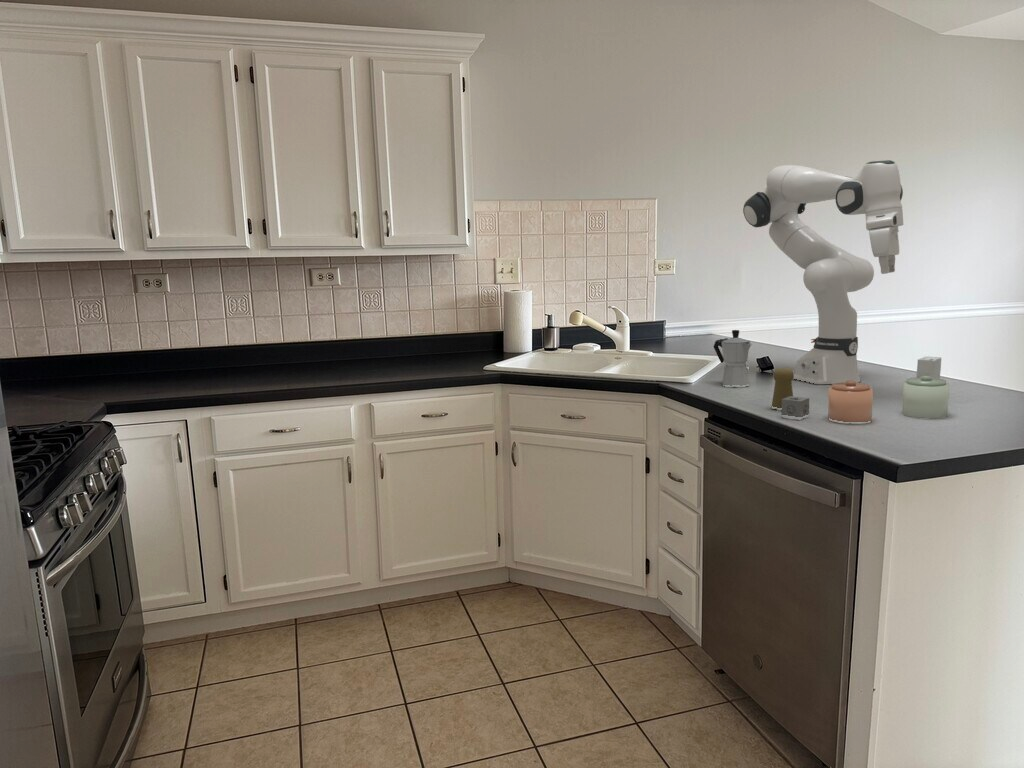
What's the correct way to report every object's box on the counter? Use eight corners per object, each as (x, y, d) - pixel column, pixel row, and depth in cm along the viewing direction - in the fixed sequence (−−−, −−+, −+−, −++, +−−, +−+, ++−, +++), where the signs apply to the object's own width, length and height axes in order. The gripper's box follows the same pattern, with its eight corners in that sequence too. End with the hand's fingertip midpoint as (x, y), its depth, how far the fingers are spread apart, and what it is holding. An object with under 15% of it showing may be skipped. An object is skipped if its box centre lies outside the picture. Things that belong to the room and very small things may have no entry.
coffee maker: (760, 386, 230) (761, 329, 227) (742, 389, 225) (743, 332, 222) (723, 380, 242) (723, 327, 239) (705, 384, 237) (705, 329, 234)
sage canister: (893, 414, 184) (895, 376, 183) (917, 408, 189) (919, 371, 187) (932, 421, 176) (934, 381, 174) (956, 415, 180) (958, 376, 179)
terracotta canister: (819, 419, 183) (820, 381, 181) (845, 413, 188) (846, 376, 186) (854, 426, 174) (855, 386, 173) (880, 420, 179) (882, 381, 177)
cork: (766, 408, 198) (766, 368, 196) (783, 405, 200) (783, 366, 198) (782, 412, 193) (783, 371, 191) (799, 409, 195) (800, 369, 193)
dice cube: (781, 418, 186) (781, 399, 185) (790, 414, 190) (790, 396, 189) (800, 420, 183) (800, 401, 182) (808, 417, 186) (809, 398, 185)
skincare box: (921, 399, 200) (923, 355, 198) (939, 401, 196) (942, 356, 194) (913, 403, 195) (915, 358, 193) (932, 404, 192) (934, 359, 190)
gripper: (878, 224, 204) (881, 273, 205) (864, 222, 187) (868, 275, 189) (903, 220, 200) (906, 270, 201) (891, 218, 184) (895, 272, 185)
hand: (888, 273), depth 195 cm, fingers open, 8 cm apart
